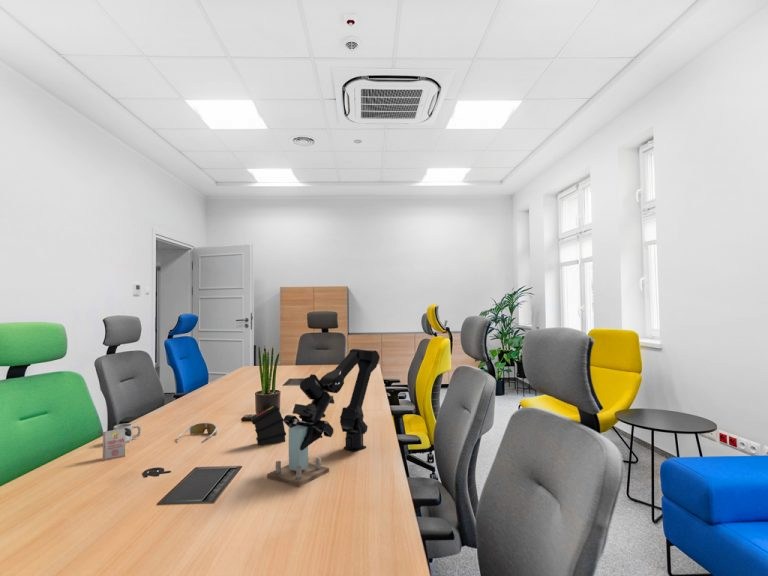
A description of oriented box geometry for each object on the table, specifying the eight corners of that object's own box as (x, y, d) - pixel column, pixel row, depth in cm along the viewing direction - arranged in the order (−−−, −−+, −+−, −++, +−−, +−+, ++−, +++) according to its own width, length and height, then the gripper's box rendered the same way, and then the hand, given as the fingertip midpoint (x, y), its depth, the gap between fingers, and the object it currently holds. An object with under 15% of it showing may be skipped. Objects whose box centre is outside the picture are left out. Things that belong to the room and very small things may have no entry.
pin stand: (298, 463, 148) (298, 450, 149) (328, 471, 141) (328, 457, 141) (267, 477, 137) (267, 462, 137) (299, 486, 129) (299, 471, 129)
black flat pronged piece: (174, 471, 144) (175, 469, 144) (156, 480, 137) (156, 478, 137) (153, 468, 147) (153, 466, 147) (134, 477, 140) (134, 474, 140)
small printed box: (102, 458, 158) (103, 430, 158) (123, 454, 162) (124, 427, 162) (103, 460, 155) (103, 433, 155) (125, 456, 159) (125, 429, 159)
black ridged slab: (293, 436, 175) (277, 404, 173) (263, 455, 170) (246, 422, 168) (291, 434, 178) (275, 403, 176) (262, 452, 173) (245, 420, 171)
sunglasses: (222, 433, 188) (221, 422, 188) (205, 448, 173) (204, 437, 173) (192, 432, 189) (191, 422, 189) (172, 448, 175) (171, 436, 174)
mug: (114, 445, 173) (115, 428, 173) (112, 441, 178) (112, 425, 178) (142, 439, 179) (142, 424, 180) (139, 436, 184) (139, 421, 185)
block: (298, 464, 142) (298, 425, 142) (308, 467, 140) (307, 427, 140) (288, 468, 138) (288, 428, 139) (298, 471, 136) (298, 430, 136)
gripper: (286, 391, 148) (262, 431, 139) (327, 396, 138) (304, 440, 128) (302, 409, 155) (280, 448, 145) (342, 415, 145) (321, 458, 135)
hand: (295, 448), depth 138 cm, fingers closed on block, 4 cm apart
